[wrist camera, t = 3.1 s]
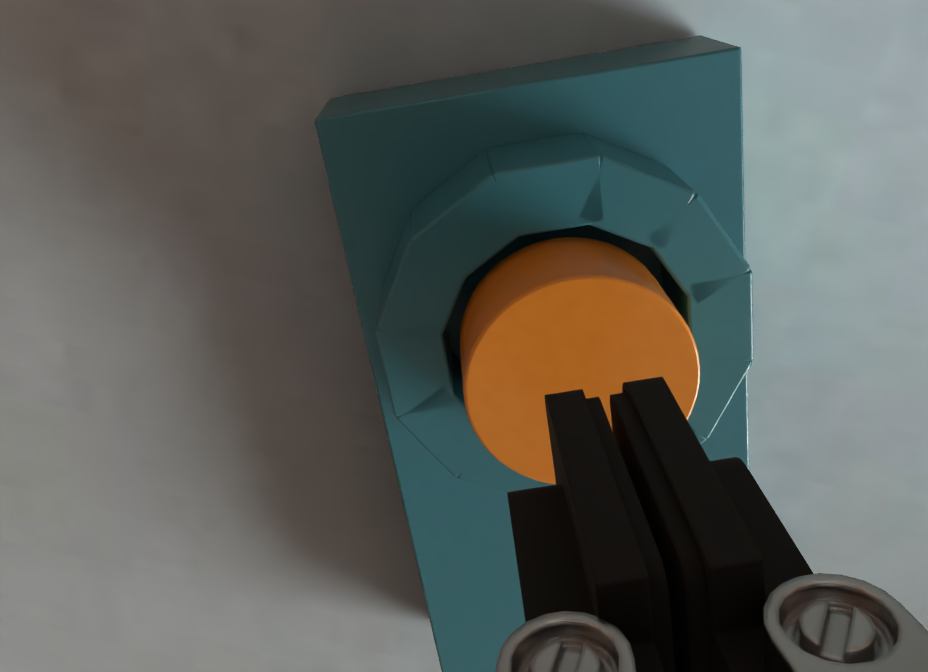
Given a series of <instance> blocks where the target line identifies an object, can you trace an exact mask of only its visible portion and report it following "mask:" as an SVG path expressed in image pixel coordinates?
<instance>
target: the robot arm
mask: <svg viewBox="0 0 928 672" xmlns="http://www.w3.org/2000/svg"><path fill="white" fill-rule="evenodd" d="M545 406H546V414H547V421H548V428H549V436H550V443H551V450H552V458H553V465H554V472H555V480H556V485H550V486H544V487H537V488H531V489H524V490H518V491H511V492H507V496H508V503H509V510H510V517H511V524H512V531H513V538H514V545H515V552H516V559H517V566H518V573H519V581H520V588H521V595H522V602H523V609H524V616H525V623H524V624H523V625H521V626H520V627H519V628H517V629H516V630H515V631H513V632H512V633H511V634H510V636H509V637H508V638H507V640H506V641H505V642H504V644H503V645H502V646H501V649H500V652H499V656H498V659H497V662H496V671H495V672H928V631H927V630H926V629H925V628H924V627H923V626H922V625H921V624H920V623H919V622H918V621H917V620H916V618H915V617H914V616H913V615H912V614H911V613H910V612H909V611H908V610H907V609H906V608H905V607H904V606H903V605H902V604H901V603H900V602H898V601H897V600H896V599H894V598H893V597H892V596H891V595H889V594H888V593H887V592H886V591H884V590H882V589H880V588H878V587H876V586H874V585H872V584H870V583H868V582H866V581H864V580H860V579H856V578H852V577H848V576H844V575H838V574H822V573H818V574H813V572H812V571H811V569H810V567H809V566H808V564H807V563H806V561H805V559H804V558H803V556H802V555H801V553H800V551H799V550H798V548H797V547H796V545H795V543H794V542H793V540H792V539H791V537H790V535H789V534H788V532H787V531H786V529H785V527H784V526H783V524H782V523H781V521H780V519H779V518H778V516H777V515H776V513H775V511H774V510H773V508H772V507H771V505H770V503H769V502H768V500H767V499H766V497H765V495H764V494H763V492H762V491H761V489H760V487H759V486H758V484H757V483H756V481H755V479H754V478H753V476H752V475H751V473H750V471H749V470H748V468H747V467H746V465H745V464H744V462H743V461H742V460H741V459H740V458H738V457H732V458H726V459H719V460H713V461H710V460H709V459H708V457H707V455H706V453H705V451H704V450H703V448H702V446H701V444H700V442H699V441H698V439H697V437H696V435H695V433H694V432H693V430H692V428H691V426H690V425H689V423H688V421H687V419H686V417H685V416H684V414H683V412H682V410H681V408H680V407H679V405H678V403H677V401H676V399H675V398H674V396H673V394H672V392H671V390H670V389H669V387H668V385H667V383H666V381H665V380H664V378H663V377H655V378H649V379H643V380H636V381H630V382H623V385H622V393H618V394H612V395H610V410H611V420H612V428H611V426H610V423H609V421H608V418H607V415H606V413H605V410H604V408H603V405H602V402H601V400H600V398H599V397H592V398H586V397H585V394H584V391H583V389H579V390H573V391H566V392H560V393H554V394H547V395H545ZM612 430H613V431H612Z"/></svg>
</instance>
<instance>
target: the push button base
mask: <svg viewBox="0 0 928 672" xmlns="http://www.w3.org/2000/svg"><path fill="white" fill-rule="evenodd" d="M315 125H316V130H317V134H318V138H319V143H320V147H321V151H322V156H323V160H324V164H325V169H326V173H327V177H328V182H329V186H330V190H331V195H332V199H333V203H334V208H335V212H336V216H337V221H338V225H339V229H340V234H341V238H342V242H343V246H344V251H345V255H346V259H347V264H348V268H349V272H350V277H351V281H352V285H353V290H354V294H355V298H356V303H357V307H358V311H359V316H360V320H361V324H362V329H363V333H364V337H365V342H366V346H367V350H368V355H369V359H370V363H371V368H372V372H373V376H374V381H375V385H376V389H377V393H378V398H379V402H380V406H381V411H382V415H383V419H384V424H385V428H386V432H387V437H388V441H389V445H390V450H391V454H392V458H393V463H394V467H395V471H396V476H397V480H398V484H399V489H400V493H401V497H402V502H403V506H404V510H405V515H406V519H407V523H408V528H409V532H410V536H411V540H412V545H413V549H414V553H415V558H416V562H417V566H418V571H419V575H420V579H421V584H422V588H423V592H424V597H425V601H426V605H427V610H428V614H429V618H430V623H431V627H432V631H433V636H434V640H435V644H436V649H437V653H438V657H439V662H440V666H441V670H442V672H495V671H496V662H497V659H498V656H499V652H500V649H501V646H502V645H503V644H504V642H505V641H506V640H507V638H508V637H509V636H510V634H511V633H512V632H513V631H515V630H516V629H517V628H519V627H520V626H521V625H523V624H524V623H525V616H524V609H523V602H522V595H521V588H520V581H519V573H518V566H517V559H516V552H515V545H514V538H513V531H512V524H511V517H510V510H509V503H508V496H507V492H511V491H518V490H524V489H531V488H537V487H544V486H550V485H556V484H549V483H545V482H541V481H537V480H534V479H531V478H528V477H526V476H523V475H521V474H519V473H517V472H515V471H513V470H512V469H510V468H508V467H507V466H506V465H504V464H503V463H501V462H500V461H499V460H498V459H496V458H495V457H494V456H493V455H492V454H491V453H490V452H489V451H488V450H487V449H486V448H485V446H484V445H483V444H482V443H481V442H480V440H479V438H478V437H477V435H476V433H475V432H474V430H473V428H472V426H471V423H470V421H469V419H468V416H467V412H466V408H465V404H464V394H463V382H462V369H461V355H460V328H461V322H462V317H463V314H464V311H465V308H466V305H467V303H468V301H469V299H470V297H471V295H472V293H473V291H474V290H475V288H476V287H477V285H478V284H479V282H480V281H481V280H482V279H483V278H484V276H485V275H486V274H487V273H488V272H489V271H490V270H491V269H492V268H493V267H494V266H496V265H497V264H498V263H499V262H500V261H502V260H503V259H505V258H506V257H508V256H509V255H510V254H512V253H514V252H516V251H518V250H520V249H522V248H524V247H526V246H529V245H531V244H534V243H537V242H540V241H545V240H549V239H554V238H564V237H582V238H589V239H595V240H599V241H603V242H606V243H609V244H612V245H614V246H616V247H619V248H621V249H623V250H625V251H626V252H628V253H629V254H631V255H633V256H634V257H635V258H636V259H638V260H639V261H640V262H641V263H642V264H644V265H645V266H646V268H647V269H648V270H649V271H650V272H651V273H652V274H653V276H654V277H655V279H656V280H657V281H658V283H659V284H660V286H661V287H662V289H663V290H664V292H665V293H666V294H667V296H668V297H669V299H670V300H671V302H672V303H673V304H674V306H675V307H676V309H677V310H678V312H679V313H680V315H681V316H682V318H683V319H684V321H685V322H686V324H687V325H688V327H689V329H690V331H691V333H692V335H693V337H694V340H695V343H696V346H697V350H698V354H699V362H700V383H699V388H698V394H697V398H696V401H695V404H694V407H693V410H692V412H691V414H690V416H689V418H688V420H687V421H688V423H689V425H690V426H691V428H692V430H693V432H694V433H695V435H696V437H697V439H698V441H699V442H700V444H701V446H702V448H703V450H704V451H705V453H706V455H707V457H708V459H709V460H710V461H713V460H719V459H726V458H732V457H738V458H740V459H741V460H742V461H743V462H744V464H745V465H746V467H747V468H748V470H749V444H748V389H747V371H748V369H749V367H750V366H751V364H752V360H753V302H752V271H751V270H750V268H749V264H748V263H747V261H746V260H745V226H744V172H743V117H742V63H741V48H740V47H737V46H734V45H730V44H727V43H724V42H720V41H717V40H714V39H710V38H707V37H704V36H694V37H688V38H682V39H676V40H670V41H665V42H659V43H653V44H647V45H641V46H635V47H629V48H623V49H618V50H612V51H606V52H600V53H594V54H588V55H582V56H577V57H571V58H565V59H559V60H553V61H547V62H541V63H536V64H530V65H524V66H518V67H512V68H506V69H500V70H495V71H489V72H483V73H477V74H471V75H465V76H459V77H454V78H448V79H442V80H436V81H430V82H424V83H418V84H413V85H407V86H401V87H395V88H389V89H383V90H377V91H372V92H366V93H360V94H354V95H348V96H342V97H336V98H331V99H329V101H328V102H327V103H326V105H325V106H324V108H323V109H322V111H321V112H320V113H319V115H318V116H317V118H316V119H315Z"/></svg>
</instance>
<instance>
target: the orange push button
mask: <svg viewBox="0 0 928 672" xmlns="http://www.w3.org/2000/svg"><path fill="white" fill-rule="evenodd" d="M460 355H461V369H462V382H463V394H464V404H465V408H466V412H467V416H468V419H469V421H470V423H471V426H472V428H473V430H474V432H475V433H476V435H477V437H478V438H479V440H480V442H481V443H482V444H483V445H484V446H485V448H486V449H487V450H488V451H489V452H490V453H491V454H492V455H493V456H494V457H495V458H496V459H498V460H499V461H500V462H501V463H503V464H504V465H506V466H507V467H508V468H510V469H512V470H513V471H515V472H517V473H519V474H521V475H523V476H526V477H528V478H531V479H534V480H537V481H541V482H545V483H549V484H556V480H555V472H554V465H553V458H552V450H551V443H550V436H549V428H548V421H547V414H546V406H545V395H547V394H554V393H560V392H566V391H573V390H579V389H583V391H584V394H585V397H586V398H592V397H599V398H600V400H601V402H602V405H603V408H604V410H605V413H606V415H607V418H608V421H609V423H610V426H611V428H612V420H611V410H610V395H612V394H618V393H622V385H623V382H630V381H636V380H643V379H649V378H655V377H663V378H664V380H665V381H666V383H667V385H668V387H669V389H670V390H671V392H672V394H673V396H674V398H675V399H676V401H677V403H678V405H679V407H680V408H681V410H682V412H683V414H684V416H685V417H686V419H687V420H688V418H689V416H690V414H691V412H692V410H693V407H694V404H695V401H696V398H697V394H698V388H699V383H700V362H699V354H698V350H697V346H696V343H695V340H694V337H693V335H692V333H691V331H690V329H689V327H688V325H687V324H686V322H685V321H684V319H683V318H682V316H681V315H680V313H679V312H678V310H677V309H676V307H675V306H674V304H673V303H672V302H671V300H670V299H669V297H668V296H667V294H666V293H665V292H664V290H663V289H662V287H661V286H660V284H659V283H658V281H657V280H656V279H655V277H654V276H653V274H652V273H651V272H650V271H649V270H648V269H647V268H646V266H645V265H644V264H642V263H641V262H640V261H639V260H638V259H636V258H635V257H634V256H633V255H631V254H629V253H628V252H626V251H625V250H623V249H621V248H619V247H616V246H614V245H612V244H609V243H606V242H603V241H599V240H595V239H589V238H582V237H564V238H554V239H549V240H545V241H540V242H537V243H534V244H531V245H529V246H526V247H524V248H522V249H520V250H518V251H516V252H514V253H512V254H510V255H509V256H508V257H506V258H505V259H503V260H502V261H500V262H499V263H498V264H497V265H496V266H494V267H493V268H492V269H491V270H490V271H489V272H488V273H487V274H486V275H485V276H484V278H483V279H482V280H481V281H480V282H479V284H478V285H477V287H476V288H475V290H474V291H473V293H472V295H471V297H470V299H469V301H468V303H467V305H466V308H465V311H464V314H463V317H462V322H461V328H460ZM612 431H613V430H612Z"/></svg>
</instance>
